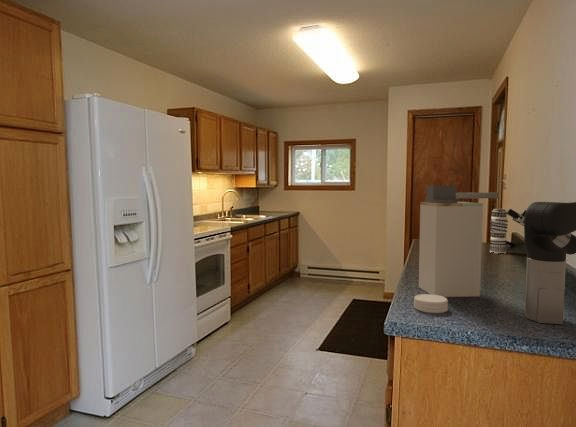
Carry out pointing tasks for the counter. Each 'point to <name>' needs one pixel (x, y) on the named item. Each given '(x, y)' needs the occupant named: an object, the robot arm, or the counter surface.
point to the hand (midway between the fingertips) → (515, 211)
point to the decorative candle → (498, 231)
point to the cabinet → (450, 248)
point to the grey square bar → (452, 194)
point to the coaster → (430, 303)
